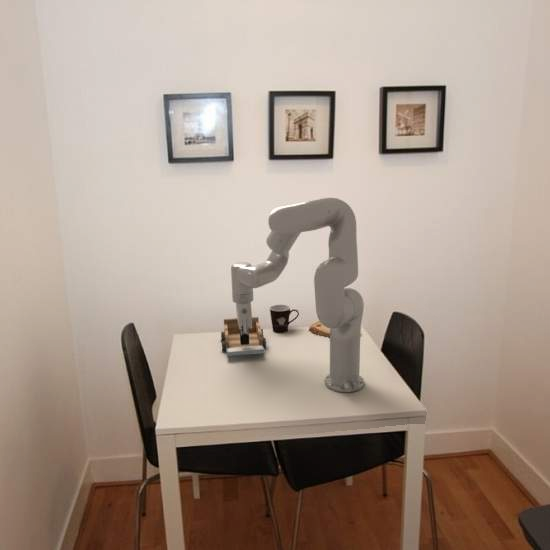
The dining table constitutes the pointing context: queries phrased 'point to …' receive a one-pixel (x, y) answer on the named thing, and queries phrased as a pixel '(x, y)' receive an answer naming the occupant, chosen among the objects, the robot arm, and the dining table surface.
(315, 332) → the bread slice
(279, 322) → the coffee mug
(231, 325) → the truck bed
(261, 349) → the panel
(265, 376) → the dining table surface
